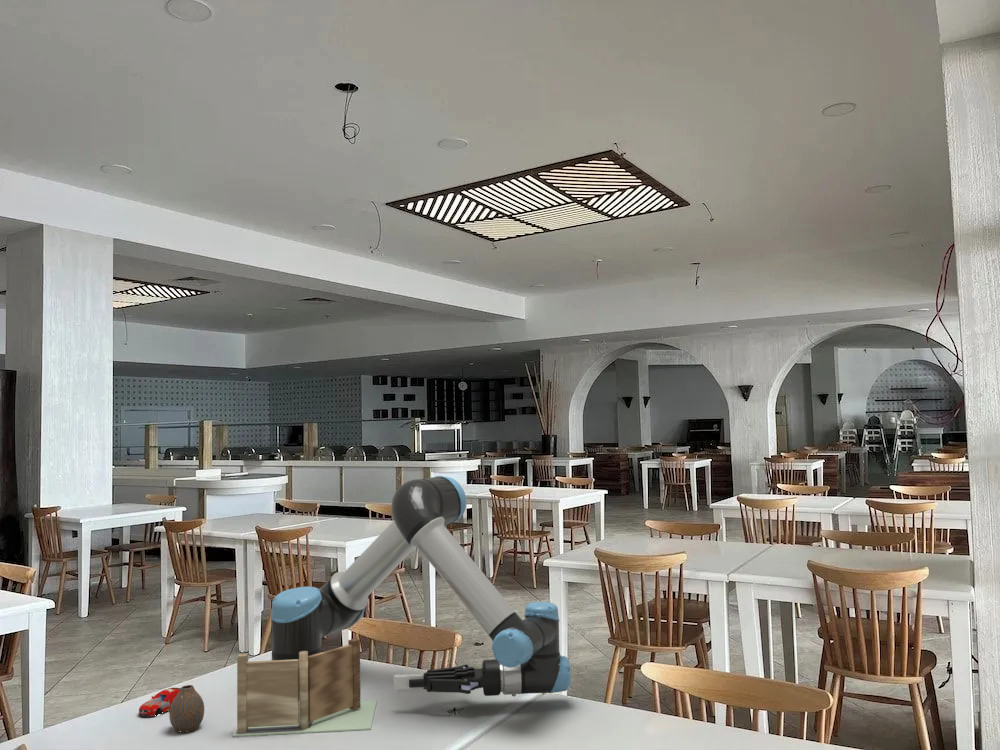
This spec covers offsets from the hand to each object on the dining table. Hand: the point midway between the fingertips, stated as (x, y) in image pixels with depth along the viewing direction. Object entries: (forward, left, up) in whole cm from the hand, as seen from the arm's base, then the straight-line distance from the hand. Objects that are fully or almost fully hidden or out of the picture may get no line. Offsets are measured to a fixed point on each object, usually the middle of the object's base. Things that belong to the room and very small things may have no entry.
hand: (394, 682), depth 173 cm
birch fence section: (+7, -24, -7) cm, 26 cm away
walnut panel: (+1, -13, -6) cm, 14 cm away
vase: (+3, -43, -7) cm, 44 cm away
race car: (-11, -52, -7) cm, 54 cm away
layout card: (0, -18, -7) cm, 20 cm away
